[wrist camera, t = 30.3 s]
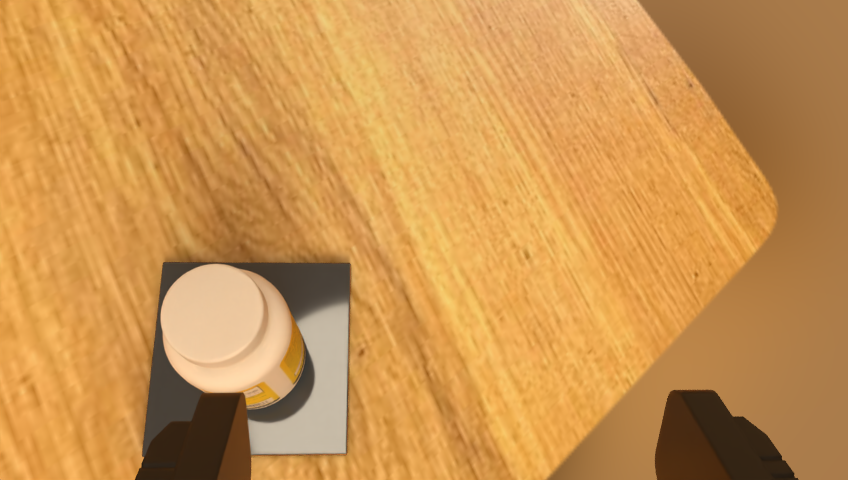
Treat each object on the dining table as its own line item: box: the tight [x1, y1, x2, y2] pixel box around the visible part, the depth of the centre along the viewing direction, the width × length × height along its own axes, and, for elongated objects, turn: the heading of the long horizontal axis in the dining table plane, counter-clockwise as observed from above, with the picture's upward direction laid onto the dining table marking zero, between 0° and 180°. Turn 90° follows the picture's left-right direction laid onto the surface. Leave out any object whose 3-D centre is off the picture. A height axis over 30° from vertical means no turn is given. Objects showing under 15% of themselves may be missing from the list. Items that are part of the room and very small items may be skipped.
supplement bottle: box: [161, 264, 305, 410], centre depth 33 cm, size 5×5×10 cm
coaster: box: [142, 262, 351, 457], centre depth 38 cm, size 10×10×1 cm
